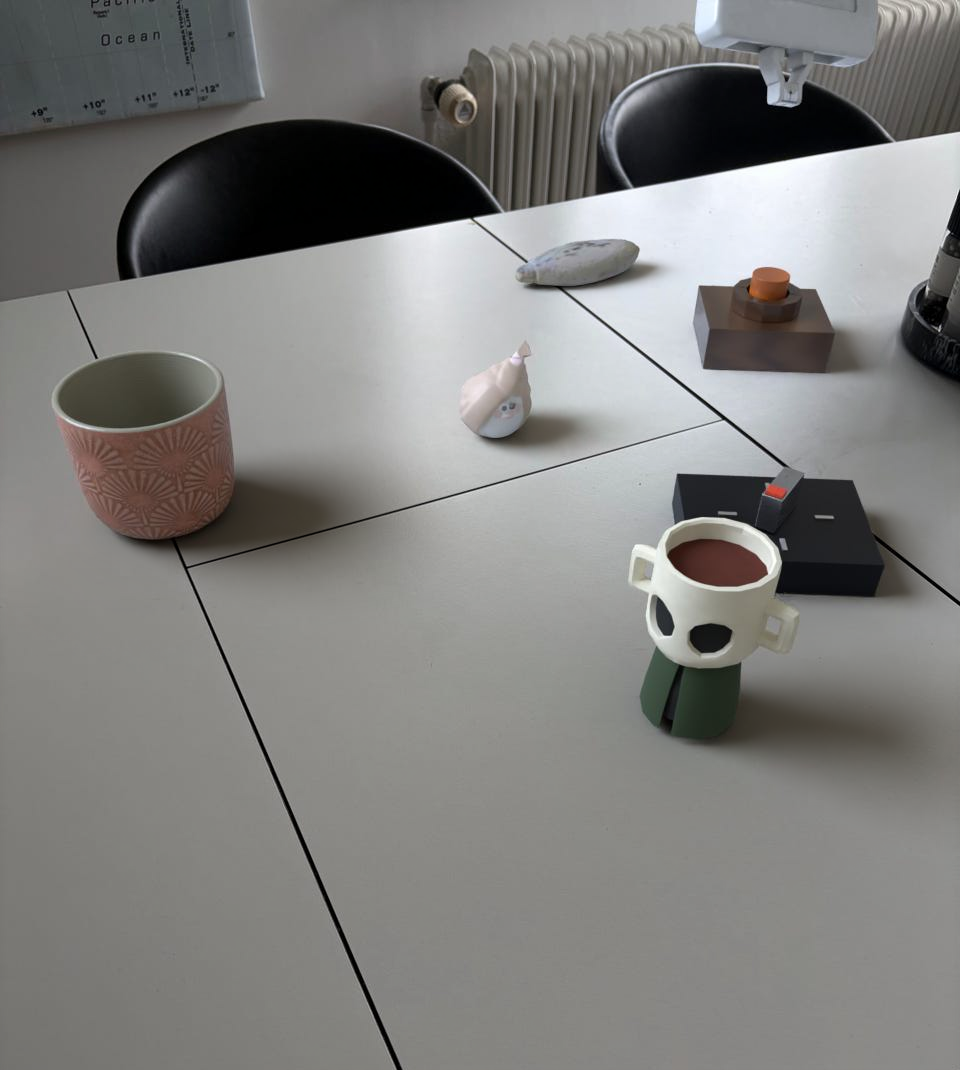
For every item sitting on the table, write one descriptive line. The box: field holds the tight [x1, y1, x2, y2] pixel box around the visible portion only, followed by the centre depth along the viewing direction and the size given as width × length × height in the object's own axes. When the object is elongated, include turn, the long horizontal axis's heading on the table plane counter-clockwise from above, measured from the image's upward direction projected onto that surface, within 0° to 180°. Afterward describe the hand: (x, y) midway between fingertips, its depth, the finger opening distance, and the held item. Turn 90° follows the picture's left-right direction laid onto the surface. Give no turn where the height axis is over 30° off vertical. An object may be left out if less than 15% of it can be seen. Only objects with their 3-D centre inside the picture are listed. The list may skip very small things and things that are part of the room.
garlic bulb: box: [458, 339, 533, 439], centre depth 91 cm, size 7×6×8 cm
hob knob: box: [755, 466, 805, 533], centre depth 78 cm, size 4×2×3 cm, turn 146°
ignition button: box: [749, 266, 791, 300], centre depth 102 cm, size 4×4×2 cm
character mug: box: [627, 517, 801, 740], centre depth 64 cm, size 11×7×13 cm, turn 53°
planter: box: [51, 348, 235, 540], centre depth 80 cm, size 12×12×11 cm
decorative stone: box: [514, 238, 641, 287], centre depth 117 cm, size 6×16×3 cm, turn 116°
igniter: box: [692, 277, 836, 374], centre depth 104 cm, size 12×10×6 cm
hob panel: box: [671, 472, 886, 598], centre depth 80 cm, size 14×11×3 cm
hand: (784, 104), depth 103 cm, fingers closed
